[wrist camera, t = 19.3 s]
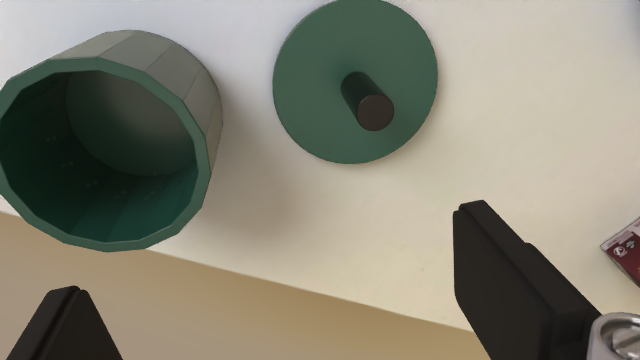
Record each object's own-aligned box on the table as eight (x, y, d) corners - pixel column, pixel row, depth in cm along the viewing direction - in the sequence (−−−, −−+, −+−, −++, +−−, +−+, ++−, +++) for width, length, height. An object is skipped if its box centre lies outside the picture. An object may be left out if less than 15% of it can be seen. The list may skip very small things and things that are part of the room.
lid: (251, 132, 34) (249, 172, 28) (305, -32, 30) (317, -30, 23) (392, 175, 37) (419, 220, 31) (460, 32, 33) (508, 50, 26)
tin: (48, 157, 33) (-24, 225, 25) (70, 4, 29) (-9, 22, 21) (200, 197, 36) (182, 269, 28) (241, 63, 32) (233, 100, 23)
